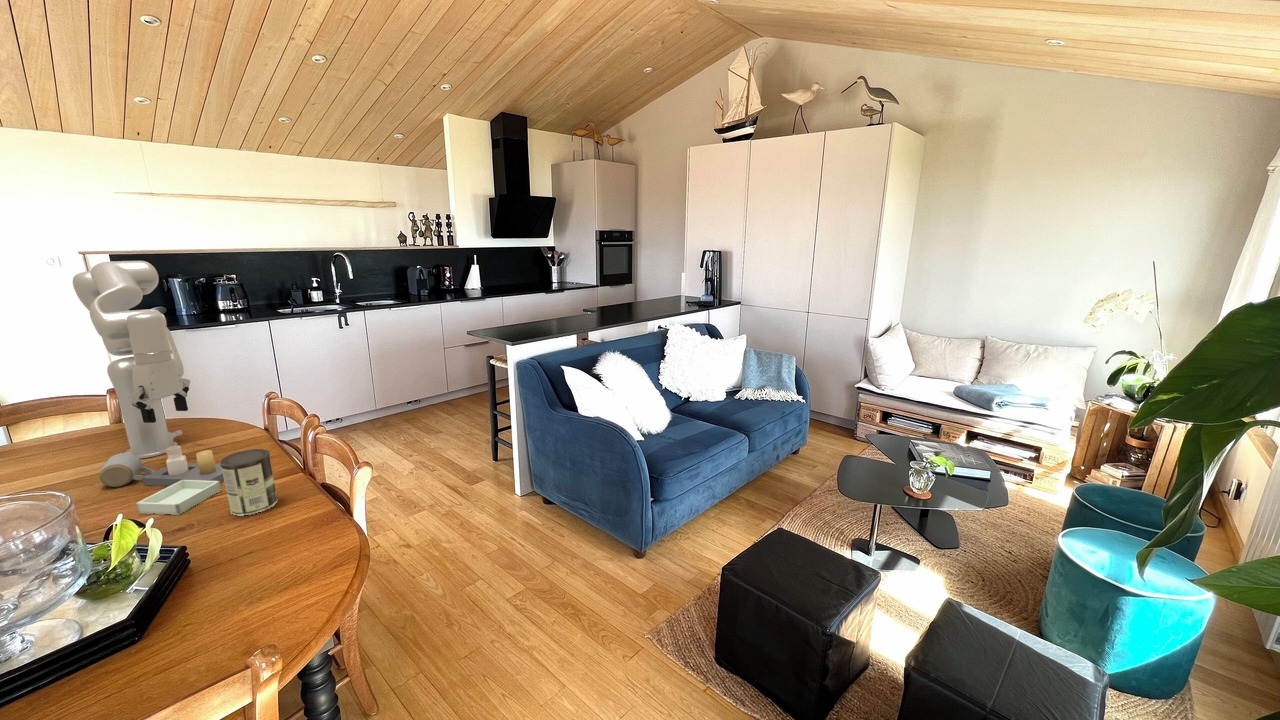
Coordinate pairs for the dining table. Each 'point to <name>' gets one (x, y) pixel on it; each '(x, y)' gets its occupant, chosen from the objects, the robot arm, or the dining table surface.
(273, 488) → the coffee can
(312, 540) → the dining table surface
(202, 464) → the socket block
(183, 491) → the tray
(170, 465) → the small white bottle
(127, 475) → the ceramic mug
